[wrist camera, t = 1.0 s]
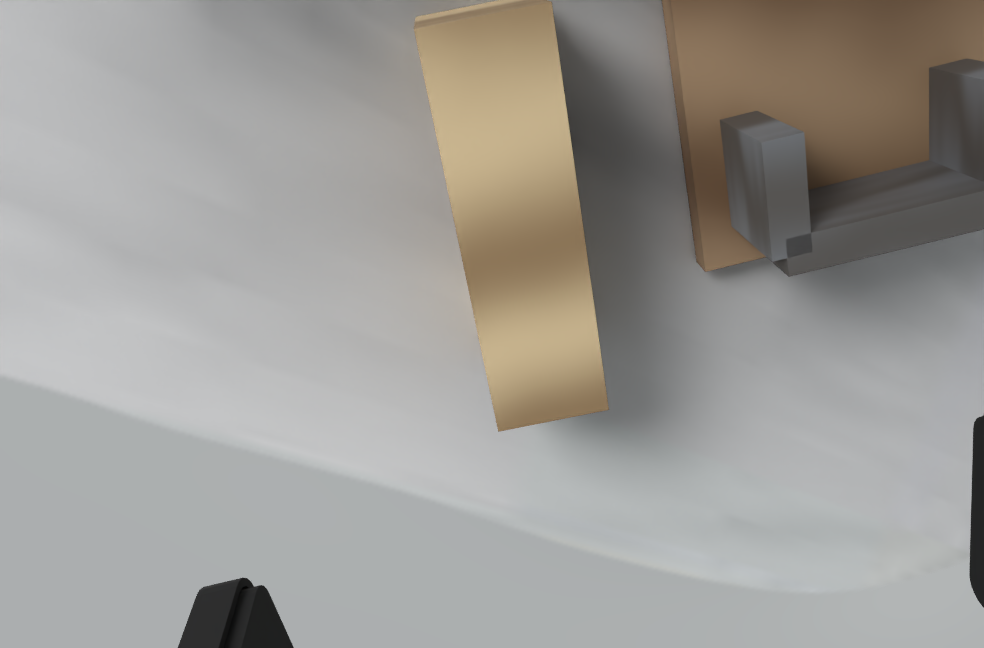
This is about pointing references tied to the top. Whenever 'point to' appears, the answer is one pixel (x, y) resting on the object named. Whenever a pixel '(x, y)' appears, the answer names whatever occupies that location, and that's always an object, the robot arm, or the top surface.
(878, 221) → the rail
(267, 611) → the robot arm
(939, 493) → the top surface
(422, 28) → the beige rectangular block
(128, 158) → the top surface
